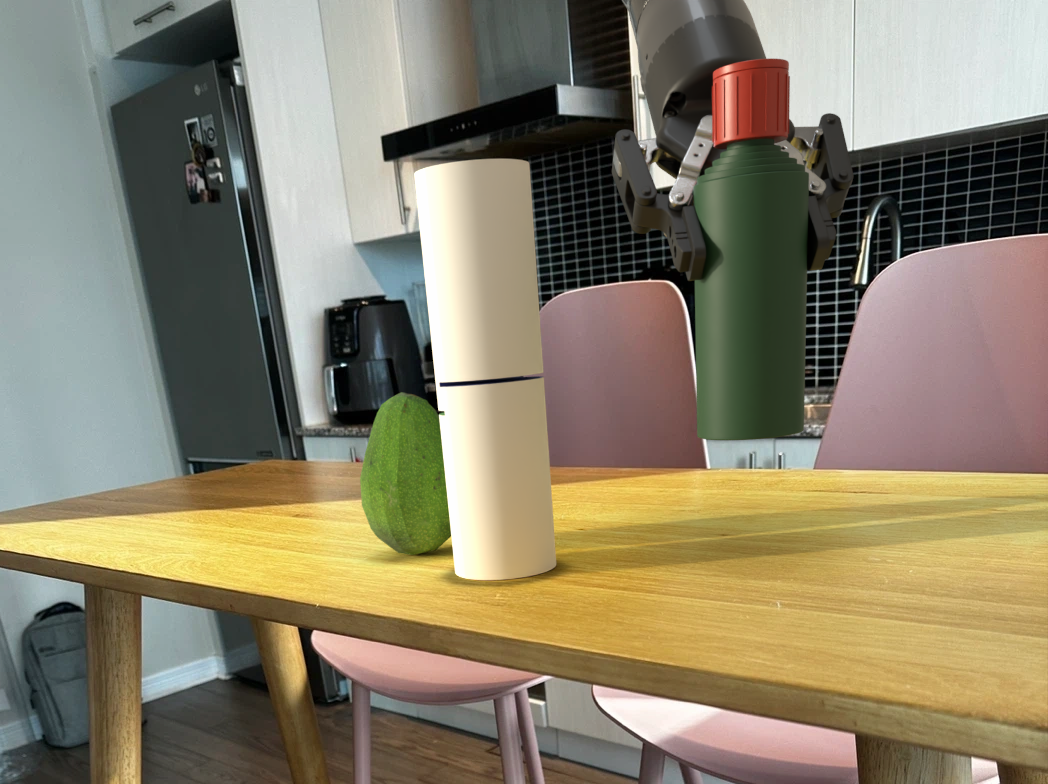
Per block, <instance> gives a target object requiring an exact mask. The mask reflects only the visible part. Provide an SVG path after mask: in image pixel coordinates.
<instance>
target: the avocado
mask: <svg viewBox="0 0 1048 784" xmlns="http://www.w3.org/2000/svg"><path fill="white" fill-rule="evenodd" d="M363 456H364V457H363V462H362V467H361V472H360V477H359V483H360V484H359V485H360V497H361V507H362V510H363V512H364V515H365V517H366V520H367V523H368V525H369V528H370V530H371V531H372V533H373V534H374V535H375V537H376V538H377V539H379V540H380V541H381V542H382V543H384V544H385V545H386V546H388V547H389V548H391V549H392V550H393V551H395V552H397V554H402V555H410V556H414V555H419V554H425V553H430V552H434V551H437V550H438V549H439V548H440V547H441V546H442V545H443V544H444V543H446V542H447V541H448V540H449V539H450V538H452V537H451V527H450V517H449V507H448V498H447V488H446V478H445V468H444V459H443V449H442V439H441V429H440V420H439V414H438V412H437V411H436V409H435V408H434V407H433V406H432V405H431V404H430V403H429V401H428V400H427V399H424V398H422V397H420V396H418V395H416V394H412V393H407V392H402V391H401V392H399V393H397V394H395V395H393V396H391V397H390V398H388V399H387V400H386V401H384V402H383V403H381V405H380V407H379V409H378V411H377V412H376V415H375V417H374V420H373V424H372V427H371V431H370V435H369V438H368V441H367V445H366V448H365V452H364V455H363Z"/></svg>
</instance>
